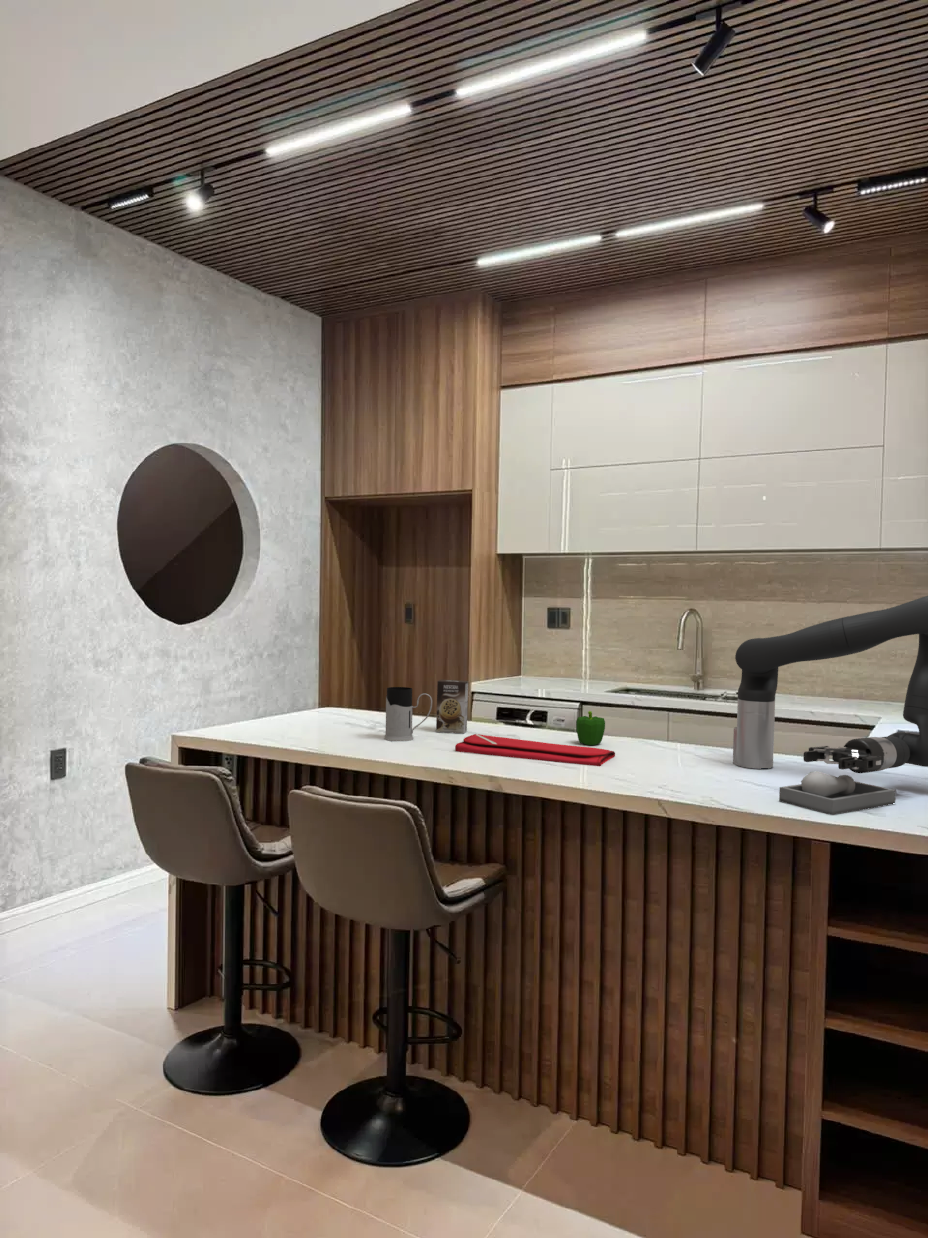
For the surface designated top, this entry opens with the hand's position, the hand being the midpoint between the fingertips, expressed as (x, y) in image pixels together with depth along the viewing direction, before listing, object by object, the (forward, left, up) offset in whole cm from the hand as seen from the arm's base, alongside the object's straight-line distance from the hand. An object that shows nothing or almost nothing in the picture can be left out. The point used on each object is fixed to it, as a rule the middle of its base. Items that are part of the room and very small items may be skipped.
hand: (822, 760), depth 181 cm
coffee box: (-116, -24, -10) cm, 119 cm away
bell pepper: (-80, +2, -10) cm, 81 cm away
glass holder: (-109, -43, -10) cm, 117 cm away
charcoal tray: (0, +5, -10) cm, 11 cm away
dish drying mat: (-74, -22, -10) cm, 78 cm away
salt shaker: (-3, -1, -6) cm, 6 cm away
